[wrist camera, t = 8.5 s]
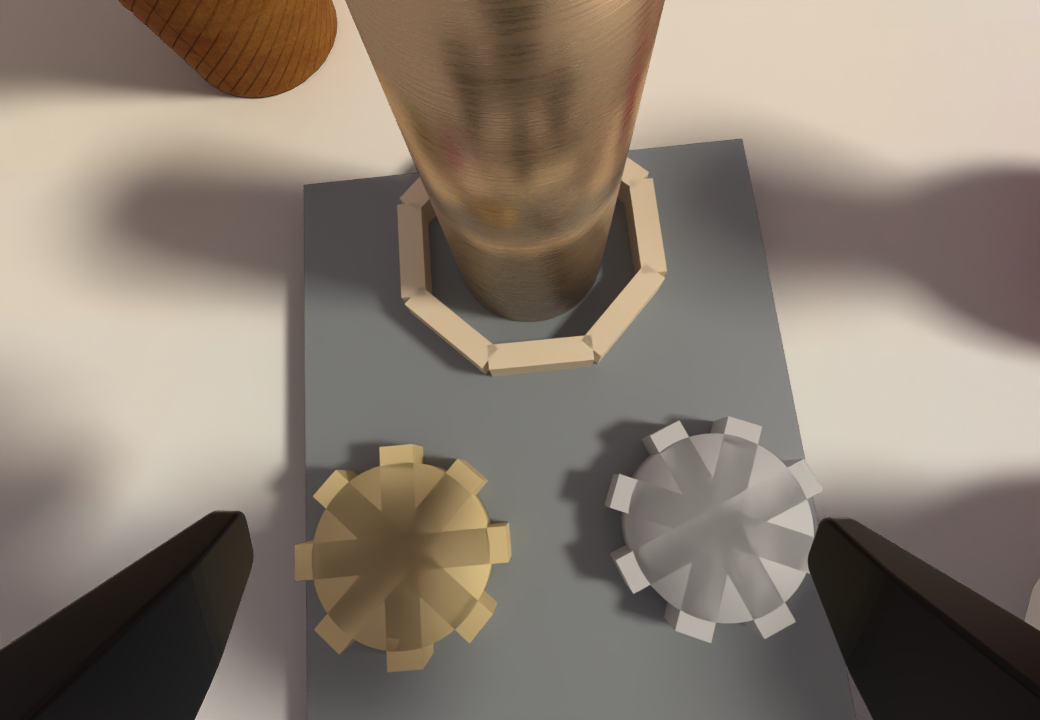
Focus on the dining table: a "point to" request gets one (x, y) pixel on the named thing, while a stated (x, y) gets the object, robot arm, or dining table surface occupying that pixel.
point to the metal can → (516, 131)
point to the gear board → (558, 471)
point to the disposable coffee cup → (245, 39)
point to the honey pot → (1034, 607)
